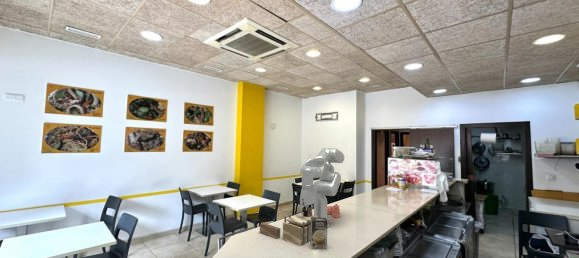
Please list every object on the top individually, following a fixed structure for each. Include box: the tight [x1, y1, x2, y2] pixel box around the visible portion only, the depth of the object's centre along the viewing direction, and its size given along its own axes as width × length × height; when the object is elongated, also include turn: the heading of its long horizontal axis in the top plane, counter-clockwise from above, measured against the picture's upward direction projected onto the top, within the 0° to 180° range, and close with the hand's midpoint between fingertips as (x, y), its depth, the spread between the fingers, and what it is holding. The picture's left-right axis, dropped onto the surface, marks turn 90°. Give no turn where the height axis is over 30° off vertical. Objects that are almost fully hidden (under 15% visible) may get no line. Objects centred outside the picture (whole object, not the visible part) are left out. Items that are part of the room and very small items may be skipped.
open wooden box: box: [282, 214, 311, 247], centre depth 152 cm, size 20×15×13 cm
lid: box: [286, 206, 317, 226], centre depth 153 cm, size 17×13×6 cm
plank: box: [259, 222, 281, 240], centre depth 155 cm, size 3×16×6 cm, turn 49°
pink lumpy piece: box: [327, 203, 341, 218], centre depth 202 cm, size 18×10×10 cm, turn 13°
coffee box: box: [309, 217, 329, 250], centre depth 139 cm, size 9×6×16 cm
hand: (307, 215), depth 157 cm, fingers closed on lid, 4 cm apart
